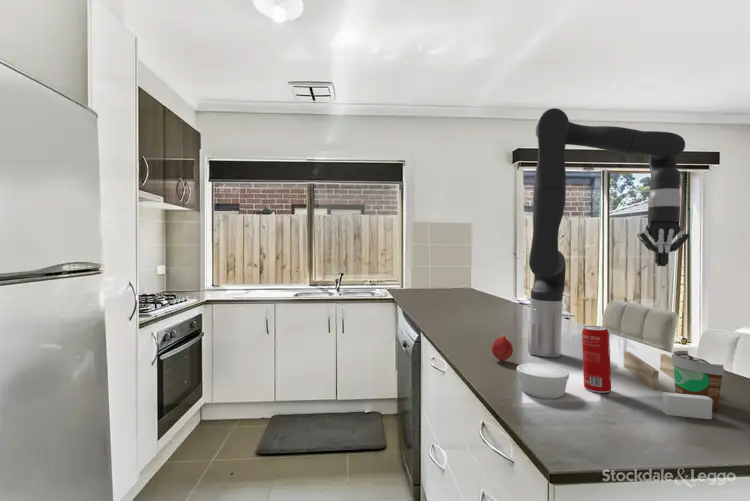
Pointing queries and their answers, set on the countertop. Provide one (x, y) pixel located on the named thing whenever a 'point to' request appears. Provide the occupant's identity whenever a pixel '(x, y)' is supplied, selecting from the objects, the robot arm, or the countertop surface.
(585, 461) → the countertop surface
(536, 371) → the ramekin
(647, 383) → the chute
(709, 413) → the white rectangular block
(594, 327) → the beverage can
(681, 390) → the food container
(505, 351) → the onion
